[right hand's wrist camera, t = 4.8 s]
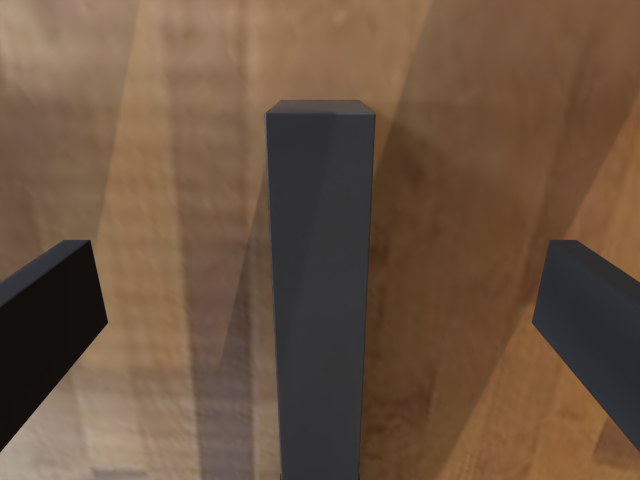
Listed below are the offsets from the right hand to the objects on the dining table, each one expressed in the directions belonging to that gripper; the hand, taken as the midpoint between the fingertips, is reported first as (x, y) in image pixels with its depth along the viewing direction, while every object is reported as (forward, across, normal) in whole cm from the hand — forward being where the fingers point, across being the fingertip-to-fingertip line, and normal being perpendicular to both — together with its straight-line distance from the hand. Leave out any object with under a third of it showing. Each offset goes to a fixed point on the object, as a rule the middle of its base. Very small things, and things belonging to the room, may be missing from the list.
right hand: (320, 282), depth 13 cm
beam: (+17, 0, -14) cm, 22 cm away
